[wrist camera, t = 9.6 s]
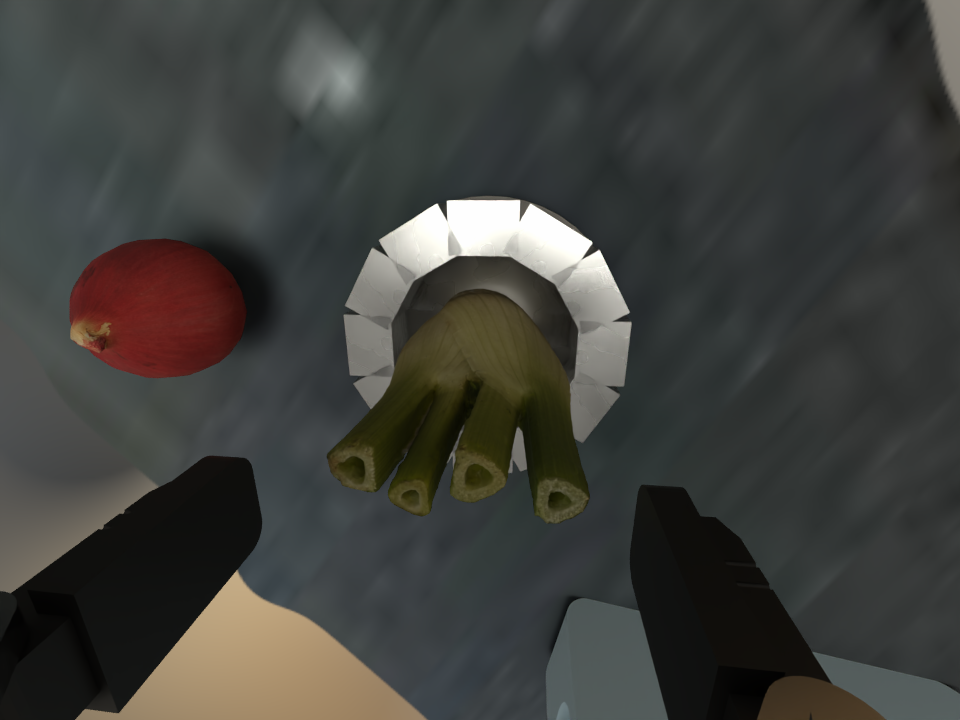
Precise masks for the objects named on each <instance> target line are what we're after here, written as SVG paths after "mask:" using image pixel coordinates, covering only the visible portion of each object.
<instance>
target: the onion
mask: <svg viewBox="0 0 960 720" xmlns="http://www.w3.org/2000/svg"><path fill="white" fill-rule="evenodd" d="M246 314H247V310H246V306H245V302H244V298H243V294H242V291H241V289H240V288H239V286H238V284H237V282H236V281H235V279H234V277H233V275H232V273H231V272H229V271H228V270H227V269H226V268H225V267H224V266H223V265H222V264H221V263H220V262H219V261H218V260H217V259H216V258H215V257H213V256H212V255H211V254H210V253H208V252H207V251H205V250H203V249H200V248H198V247H195V246H192V245H190V244H187V243H185V242H182V241H176V240H170V239H150V240H137V241H133V242H129V243H125V244H122V245H120V246H118V247H116V248H114V249H112V250H110V251H108V252H106V253H104V254H102V255H100V256H99V257H97V258H96V259H94V260H93V261H92V262H91V263H90V264H89V265H88V266H87V267H86V268H85V270H84V271H83V273H82V274H81V276H80V277H79V279H78V281H77V282H76V284H75V285H74V287H73V290H72V292H71V296H70V322H71V325H72V327H71V339H72V340H73V341H74V342H75V343H77V344H78V345H80V346H82V347H84V348H86V349H89V351H90V352H91V353H92V354H93V355H94V356H96V357H97V358H99V359H101V360H102V361H104V362H105V363H107V364H108V365H110V366H112V367H114V368H116V369H119V370H122V371H126V372H129V373H133V374H136V375H140V376H143V377H148V378H164V377H177V376H185V375H191V374H193V373H196V372H199V371H201V370H204V369H206V368H208V367H210V366H212V365H214V364H216V363H218V362H220V361H221V360H223V359H224V358H225V357H226V356H227V355H229V354H230V353H231V351H232V350H233V348H234V347H235V346H236V344H237V343H238V341H239V340H240V339H241V336H242V333H243V330H244V325H245V319H246Z"/></svg>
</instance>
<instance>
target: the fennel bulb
mask: <svg viewBox="0 0 960 720" xmlns="http://www.w3.org/2000/svg"><path fill="white" fill-rule="evenodd" d="M570 402H571V393H570V385H569V381H568V378H567V374H566V372H565V370H564V369H563V367H562V364H561V363H560V360H559V358H558V357H557V356H556V354H555V352H554V351H553V350H552V348H551V345H550V344H549V342H548V341H547V340H546V338H545V336H544V335H543V333H542V332H541V330H540V329H539V327H538V326H537V325H536V324H535V323H534V322H533V320H532V319H531V318H530V317H529V315H528V314H527V313H526V312H525V311H524V310H523V309H522V308H521V307H520V306H519V305H518V304H516V303H515V302H514V301H513V300H511V299H510V298H509V297H507V296H506V295H504V294H501V293H499V292H496V291H492V290H488V289H471V290H465V291H462V292H459V293H457V294H456V295H455V296H453V297H452V298H450V300H449V301H448V302H447V303H446V304H445V306H444V307H443V308H442V309H441V311H439V312H438V313H437V314H436V315H435V316H433V317H432V318H430V319H429V320H428V321H426V322H425V323H424V324H423V325H422V326H421V327H420V328H419V329H418V330H417V332H416V333H415V334H413V336H412V337H411V338H410V339H409V340H408V341H407V343H406V344H405V346H404V347H403V348H402V350H401V352H400V354H399V356H398V359H397V363H396V366H395V370H394V373H393V375H392V379H391V382H390V385H389V386H388V388H387V389H386V392H385V393H384V395H383V397H382V398H381V399H380V400H379V401H378V402H377V403H376V405H375V406H374V407H373V408H372V409H371V410H370V411H369V412H368V414H367V415H366V416H365V417H364V418H363V419H362V420H361V421H360V422H359V423H358V424H357V425H356V426H355V427H354V428H353V429H352V430H351V431H350V432H349V433H348V434H347V435H346V436H345V437H344V438H343V439H342V440H341V441H340V442H339V443H338V444H337V445H336V446H335V447H334V448H333V449H332V450H331V451H330V452H329V453H328V454H327V459H328V464H329V467H330V471H331V473H332V474H333V476H334V477H335V478H337V479H338V480H339V481H341V484H342V485H343V486H345V487H349V488H353V489H358V490H362V491H367V492H377V491H378V490H379V489H380V487H381V486H382V485H383V484H384V482H385V481H386V480H387V479H388V477H389V475H390V474H391V473H392V471H393V470H394V468H395V467H396V466H397V464H398V463H399V462H400V461H401V460H402V459H403V458H404V455H405V453H406V452H408V453H407V456H406V457H405V459H404V461H403V462H402V463H401V464H400V465H399V467H398V470H397V473H396V476H395V477H394V479H393V480H392V482H391V484H390V487H389V490H388V497H389V499H390V501H391V502H392V503H393V504H394V505H396V506H398V507H400V508H401V509H404V510H406V511H408V512H410V513H412V514H414V515H418V516H425V515H427V514H429V513H430V511H431V508H432V501H433V498H434V496H435V492H436V490H437V488H438V485H439V482H440V479H441V476H442V474H443V472H444V469H445V467H446V465H447V462H448V460H449V457H450V454H451V453H452V451H453V448H454V446H455V444H456V441H457V440H458V437H459V433H460V431H461V429H462V427H463V425H464V430H463V432H462V434H461V436H460V438H459V442H458V446H457V449H456V450H455V459H456V461H455V463H454V469H453V476H452V479H451V486H450V494H451V496H453V497H454V498H456V499H458V500H460V501H463V502H471V503H474V502H477V501H479V500H481V499H484V498H487V497H489V496H491V495H494V494H495V493H496V492H497V491H499V490H501V489H502V488H503V487H504V486H505V484H506V481H507V478H508V471H509V468H510V461H511V458H512V449H513V444H514V439H515V434H516V430H517V426H518V427H519V428H520V430H521V431H522V433H523V439H524V441H523V442H524V448H525V457H526V464H527V471H528V476H529V483H530V489H531V491H532V498H533V505H534V511H535V516H539V517H541V518H542V519H543V520H544V521H545V523H552V524H553V523H554V524H555V523H561V522H563V521H564V520H566V519H571V518H574V517H575V516H577V515H578V514H580V513H581V512H583V511H584V509H585V507H586V506H587V504H588V501H589V499H590V494H589V490H588V483H587V481H586V478H585V474H584V471H583V469H582V466H581V462H580V458H579V454H578V449H577V446H576V443H575V439H574V434H573V426H572V420H571V405H570Z"/></svg>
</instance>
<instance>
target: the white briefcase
mask: <svg viewBox="0 0 960 720" xmlns="http://www.w3.org/2000/svg"><path fill="white" fill-rule="evenodd" d="M812 653H813V654H814V656H815V657H816V659H817V660H818V662H819V664H820V665H821V667H822V668H823V670H824V672H825V673H826V675H827V676H828V678H829V679H830V681H831V682H832V684H833V685H836V686H838V687H840V688H842V689H844V690H846V691H847V692H849V693H851V694H853V695H854V696H856V697H857V698H859V699H861V700H862V701H864V702H865V703H866V704H868V705H869V706H870V707H872V708H873V709H875V710H876V711H877V712H878V713H879V714H880V715H882V716H883V717H884V718H885V719H886V720H960V694H959V693H958V692H956V691H955V690H953V689H951V688H950V687H948V686H946V685H944V684H942V683H940V682H938V681H935V680H930V679H926V678H922V677H918V676H913V675H909V674H905V673H901V672H896V671H892V670H888V669H884V668H879V667H875V666H871V665H867V664H862V663H858V662H854V661H850V660H845V659H841V658H837V657H833V656H829V655H824V654H820V653H816V652H812ZM546 699H547V720H668V717H667V713H666V709H665V706H664V702H663V698H662V694H661V691H660V687H659V683H658V679H657V675H656V672H655V668H654V664H653V660H652V657H651V653H650V649H649V645H648V642H647V638H646V634H645V630H644V626H643V623H642V619H641V615H640V611H638V610H633V609H629V608H625V607H621V606H616V605H612V604H608V603H604V602H600V601H595V600H591V599H587V598H581V599H577V600H575V601H573V602H572V603H571V604H570V605H569V607H568V610H567V612H566V615H565V618H564V621H563V624H562V627H561V629H560V632H559V635H558V638H557V641H556V643H555V646H554V649H553V652H552V655H551V657H550V660H549V663H548V666H547V669H546Z"/></svg>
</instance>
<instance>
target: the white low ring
mask: <svg viewBox="0 0 960 720" xmlns="http://www.w3.org/2000/svg"><path fill="white" fill-rule="evenodd" d="M379 242H380V243H381V245H380V246H376V247H373V248H372V249H371V251H370V254H369V256H368V258H367V260H366V262H365V264H364V266H363V269H362V271H361V273H360V275H359V277H358V279H357V281H356V283H355V286H354V288H353V290H352V292H351V294H350V296H349V298H348V301H347V303H346V305H345V306H346V307H348V308H350V309H352V310H351V311H349V312H347V313H346V314H344V323H345V332H346V342H347V351H348V361H349V370H350V375H355V376H360V377H359V378H358V379H357V380H356V381H355V382H354V383H353V384H354V385H355V387H356V388H357V390H358V391H359V393H360V394H361V396H362V397H363V399H364V400H365V401H366V403H367V404H368V406H369V407H370V409H372V408H373V407H374V406H375V405H376V403H377V402H378V401H379V400H380V399H381V398H382V397H383V395H384V393H385V392H386V389H387V388H388V386H389V385H390V382H391V379H392V375H393V373H394V370H395V366H396V363H397V359H398V356H399V354H400V352H401V350H402V348H403V347H404V346H405V344H406V343H407V341H408V340H409V339H410V338H411V337H412V336H413V334H415V333H416V332H417V330H418V329H419V328H420V327H421V326H422V325H423V324H424V323H425V322H426V321H428V320H429V319H430V318H432V317H433V316H435V315H436V314H437V313H438V312H439V311H441V309H442V308H443V307H444V306H445V304H446V303H447V302H448V301H449V300H450V298H452V297H453V296H455V295H456V294H457V293H459V292H462V291H465V290H471V289H488V290H492V291H496V292H499V293H501V294H504V295H506V296H507V297H509V298H510V299H511V300H513V301H514V302H515V303H516V304H518V305H519V306H520V307H521V308H522V309H523V310H524V311H525V312H526V313H527V314H528V315H529V317H530V318H531V319H532V320H533V322H534V323H535V324H536V325H537V326H538V327H539V329H540V330H541V332H542V333H543V335H544V336H545V338H546V340H547V341H548V342H549V344H550V345H551V348H552V350H553V351H554V352H555V354H556V356H557V357H558V358H559V360H560V363H561V364H562V367H563V369H564V370H565V372H566V374H567V378H568V381H569V385H570V393H571V402H570V405H571V420H572V426H573V434H574V438H575V439H576V440H578V441H580V442H582V443H583V442H584V441H585V439H586V438H587V437H588V435H589V434H590V433H591V432H592V430H593V429H594V428H595V427H596V425H597V424H598V423H599V421H600V420H601V419H602V418H603V416H604V415H605V414H606V413H607V411H608V410H609V409H610V407H611V406H612V405H613V404H614V402H615V401H616V400H617V399H618V397H619V396H620V393H619V391H618V389H617V387H616V386H624V382H625V373H626V365H627V356H628V348H629V339H630V331H631V323H632V322H631V321H630V320H629V319H628V318H627V316H626V314H628V313H630V312H629V310H628V308H627V306H626V304H625V301H624V299H623V297H622V295H621V293H620V291H619V289H618V287H617V285H616V283H615V281H614V279H613V277H612V275H611V272H610V270H609V268H608V266H607V264H606V262H605V260H604V258H603V256H602V254H601V252H600V250H599V249H597V248H596V247H594V246H593V245H592V243H593V242H591V241H590V240H588V239H587V238H586V237H585V236H584V235H583V234H582V233H581V232H580V231H579V230H578V229H577V228H576V227H575V226H573V225H572V224H571V223H569V222H568V221H566V220H565V219H564V218H562V217H561V216H559V215H557V214H555V213H554V212H552V211H550V210H548V209H546V208H544V207H542V206H539V205H536V204H533V203H531V202H528V201H524V200H519V199H515V198H510V197H500V196H479V197H469V198H464V199H459V200H455V201H447V203H437V204H435V205H434V206H432V207H431V208H429V209H427V210H426V211H424V212H423V213H421V214H419V215H418V216H416V217H415V218H413V219H412V220H410V221H408V222H407V223H405V224H404V225H402V226H401V227H399V228H397V229H396V230H394V231H393V232H391V233H389V234H388V235H386V236H385V237H383V238H382V239H380V240H379ZM463 430H464V425H463V427H462V429H461V431H460V433H459V437H458V440H457V441H456V444H455V446H454V448H453V451H452V453H451V454H450V457H449V460H450V459H451V457H452V456H453V469H454V463H455V461H456V459H455V450H456V449H457V446H458V442H459V438H460V436H461V434H462V432H463ZM523 441H524V439H523V433H522V431H521V430H520V428H519V427H518V426H517V430H516V434H515V439H514V444H513V449H512V458H511V461H510V468H509V471H508V473H512V468H513V460H514V462H515V463H516V465H517V466H518V468H519V470H520V471H523V470H526V469H527V464H526V457H525V448H524V442H523ZM449 460H448V462H449ZM448 462H447V463H448Z"/></svg>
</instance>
